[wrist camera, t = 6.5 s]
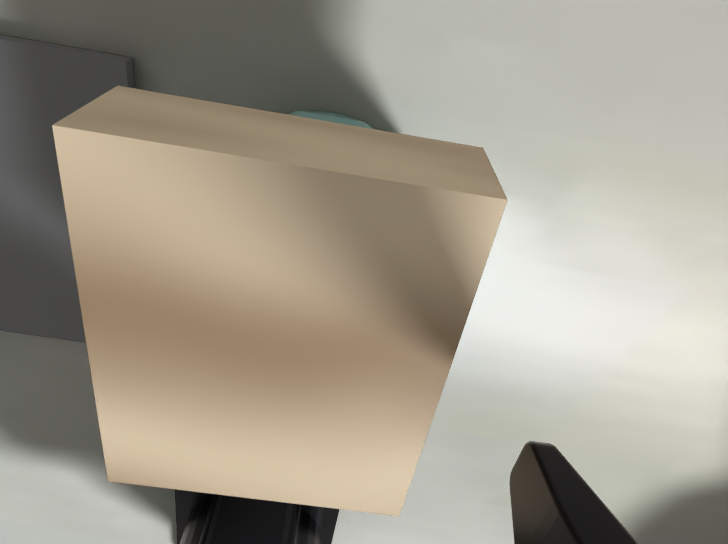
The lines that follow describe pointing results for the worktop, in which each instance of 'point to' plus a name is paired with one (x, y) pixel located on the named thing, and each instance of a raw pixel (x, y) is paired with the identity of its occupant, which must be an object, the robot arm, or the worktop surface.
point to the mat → (42, 179)
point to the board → (269, 293)
